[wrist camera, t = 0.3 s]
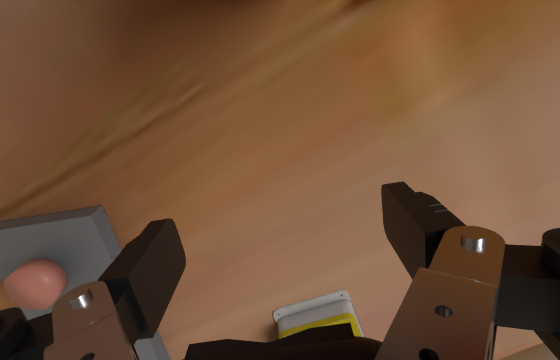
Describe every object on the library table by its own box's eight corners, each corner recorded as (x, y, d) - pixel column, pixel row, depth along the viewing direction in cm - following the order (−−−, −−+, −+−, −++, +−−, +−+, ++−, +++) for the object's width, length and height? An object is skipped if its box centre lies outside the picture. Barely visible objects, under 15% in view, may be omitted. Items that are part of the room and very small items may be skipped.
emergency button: (354, 314, 32) (387, 401, 38) (345, 284, 36) (376, 367, 42) (269, 338, 33) (314, 419, 39) (270, 307, 37) (310, 384, 43)
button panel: (-12, 223, 32) (-30, 234, 30) (101, 205, 31) (90, 215, 29) (91, 388, 42) (83, 404, 40) (178, 377, 41) (174, 393, 39)
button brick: (11, 261, 30) (-6, 276, 28) (55, 255, 29) (41, 269, 27) (33, 297, 31) (18, 313, 29) (75, 291, 31) (63, 306, 29)
